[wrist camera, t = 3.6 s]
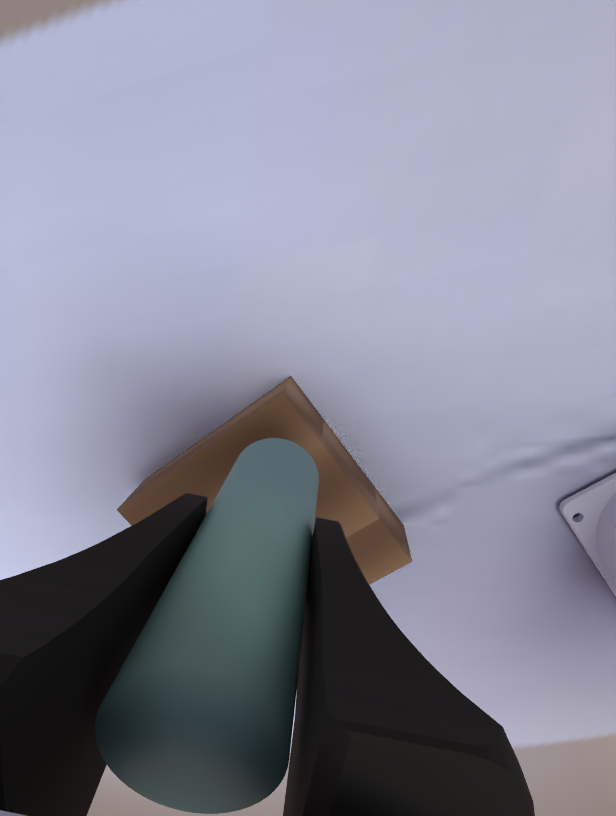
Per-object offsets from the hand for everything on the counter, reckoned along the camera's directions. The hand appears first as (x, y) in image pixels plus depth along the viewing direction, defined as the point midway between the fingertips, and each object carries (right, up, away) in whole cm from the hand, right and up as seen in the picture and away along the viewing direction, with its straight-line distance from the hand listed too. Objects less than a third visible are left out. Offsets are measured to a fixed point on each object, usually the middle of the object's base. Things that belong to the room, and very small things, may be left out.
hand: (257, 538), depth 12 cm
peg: (0, +1, +3) cm, 3 cm away
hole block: (-1, -1, +11) cm, 12 cm away
